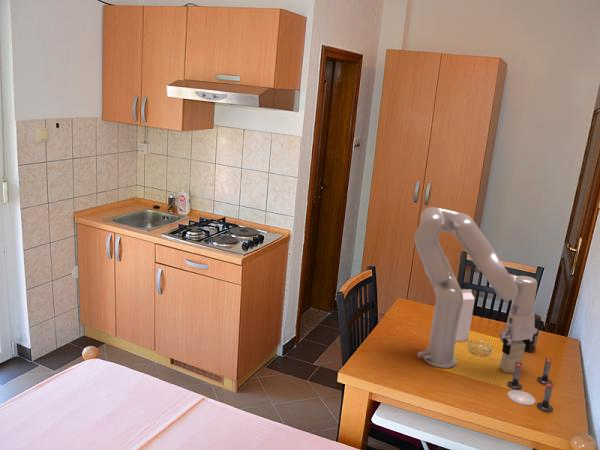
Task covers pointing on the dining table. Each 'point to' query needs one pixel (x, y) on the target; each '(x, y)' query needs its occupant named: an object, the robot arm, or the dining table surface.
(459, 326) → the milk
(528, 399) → the pad
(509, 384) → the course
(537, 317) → the deodorant
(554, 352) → the dining table surface
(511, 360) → the skincare box
